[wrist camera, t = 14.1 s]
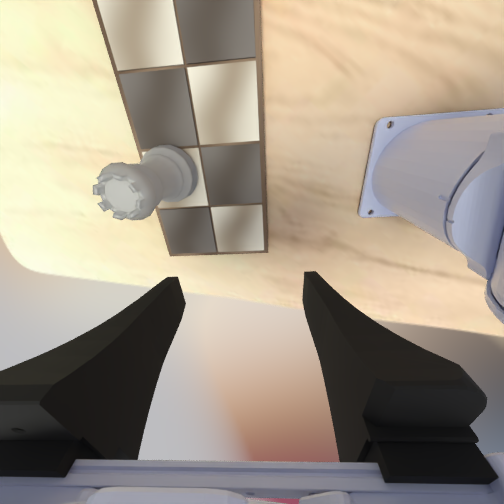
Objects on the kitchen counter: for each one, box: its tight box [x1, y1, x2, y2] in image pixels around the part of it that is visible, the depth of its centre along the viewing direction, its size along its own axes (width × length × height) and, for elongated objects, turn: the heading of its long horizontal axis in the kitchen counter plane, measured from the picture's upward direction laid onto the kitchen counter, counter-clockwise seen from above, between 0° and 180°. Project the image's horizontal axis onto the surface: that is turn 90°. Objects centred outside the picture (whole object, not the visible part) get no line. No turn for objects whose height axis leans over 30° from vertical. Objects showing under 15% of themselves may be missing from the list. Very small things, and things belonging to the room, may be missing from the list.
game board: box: [92, 0, 268, 256], centre depth 17 cm, size 11×21×1 cm, turn 4°
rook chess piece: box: [93, 145, 198, 220], centre depth 14 cm, size 4×4×8 cm
